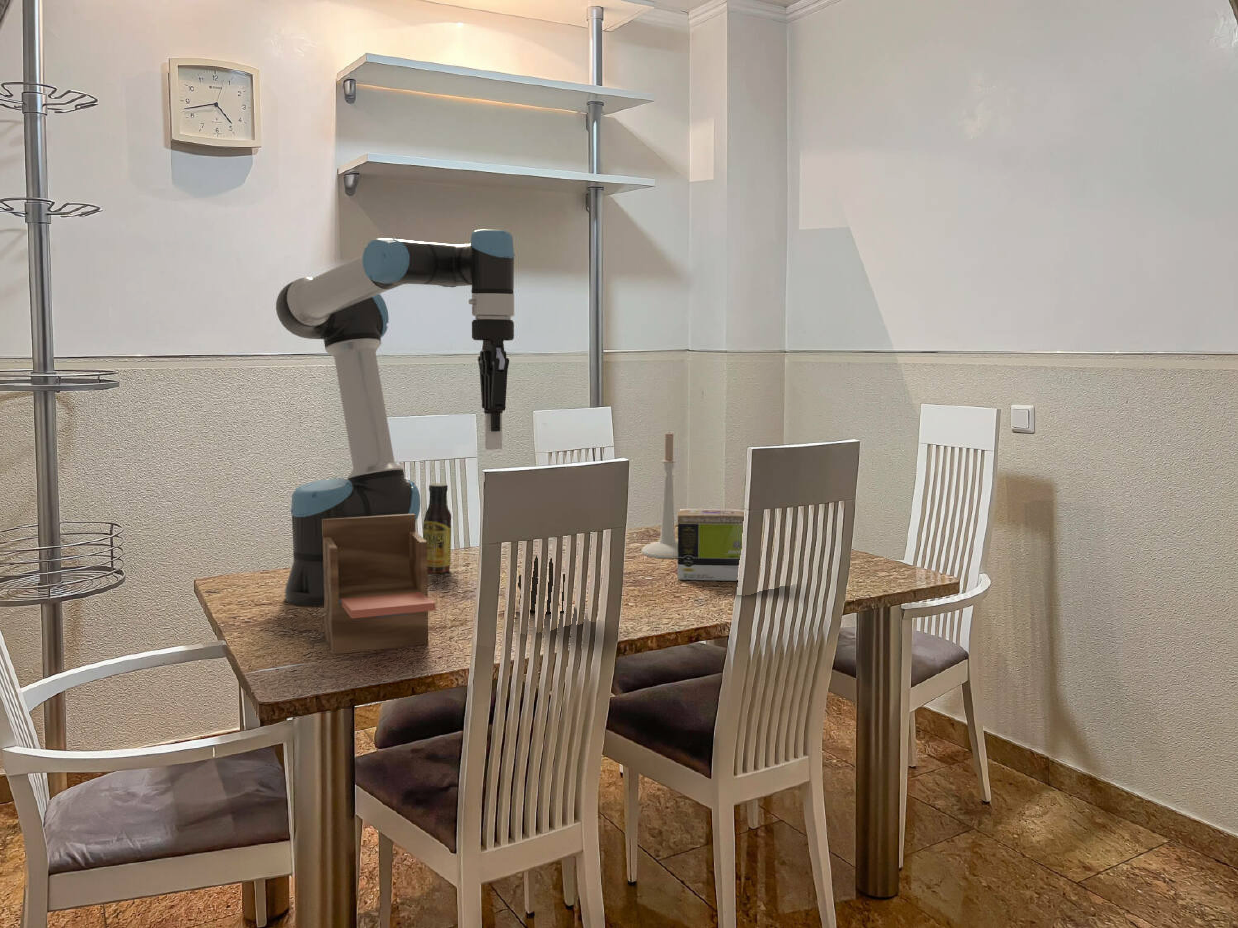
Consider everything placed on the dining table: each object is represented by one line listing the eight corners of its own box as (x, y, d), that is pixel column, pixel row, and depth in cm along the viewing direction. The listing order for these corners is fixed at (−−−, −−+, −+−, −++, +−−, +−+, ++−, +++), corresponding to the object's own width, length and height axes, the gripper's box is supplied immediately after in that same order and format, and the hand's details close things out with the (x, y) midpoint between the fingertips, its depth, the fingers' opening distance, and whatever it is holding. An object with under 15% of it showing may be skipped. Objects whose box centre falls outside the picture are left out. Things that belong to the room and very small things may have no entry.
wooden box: (325, 636, 179) (321, 519, 176) (415, 626, 185) (413, 513, 182) (332, 654, 169) (329, 530, 166) (428, 644, 175) (426, 524, 172)
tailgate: (339, 598, 168) (349, 610, 156) (420, 591, 173) (437, 602, 161) (339, 608, 168) (350, 621, 156) (421, 601, 173) (437, 613, 161)
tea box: (744, 572, 230) (746, 507, 228) (745, 582, 220) (747, 515, 218) (678, 569, 232) (679, 506, 230) (676, 580, 222) (677, 514, 220)
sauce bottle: (417, 573, 226) (415, 485, 223) (431, 567, 231) (430, 481, 229) (443, 576, 223) (442, 487, 221) (457, 569, 229) (456, 483, 227)
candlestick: (704, 553, 249) (706, 431, 245) (668, 561, 240) (670, 435, 236) (666, 545, 258) (668, 427, 254) (630, 552, 249) (631, 431, 245)
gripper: (464, 318, 186) (465, 445, 190) (481, 317, 174) (482, 453, 178) (503, 319, 189) (504, 444, 192) (523, 318, 177) (523, 452, 180)
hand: (493, 448), depth 185 cm, fingers closed
